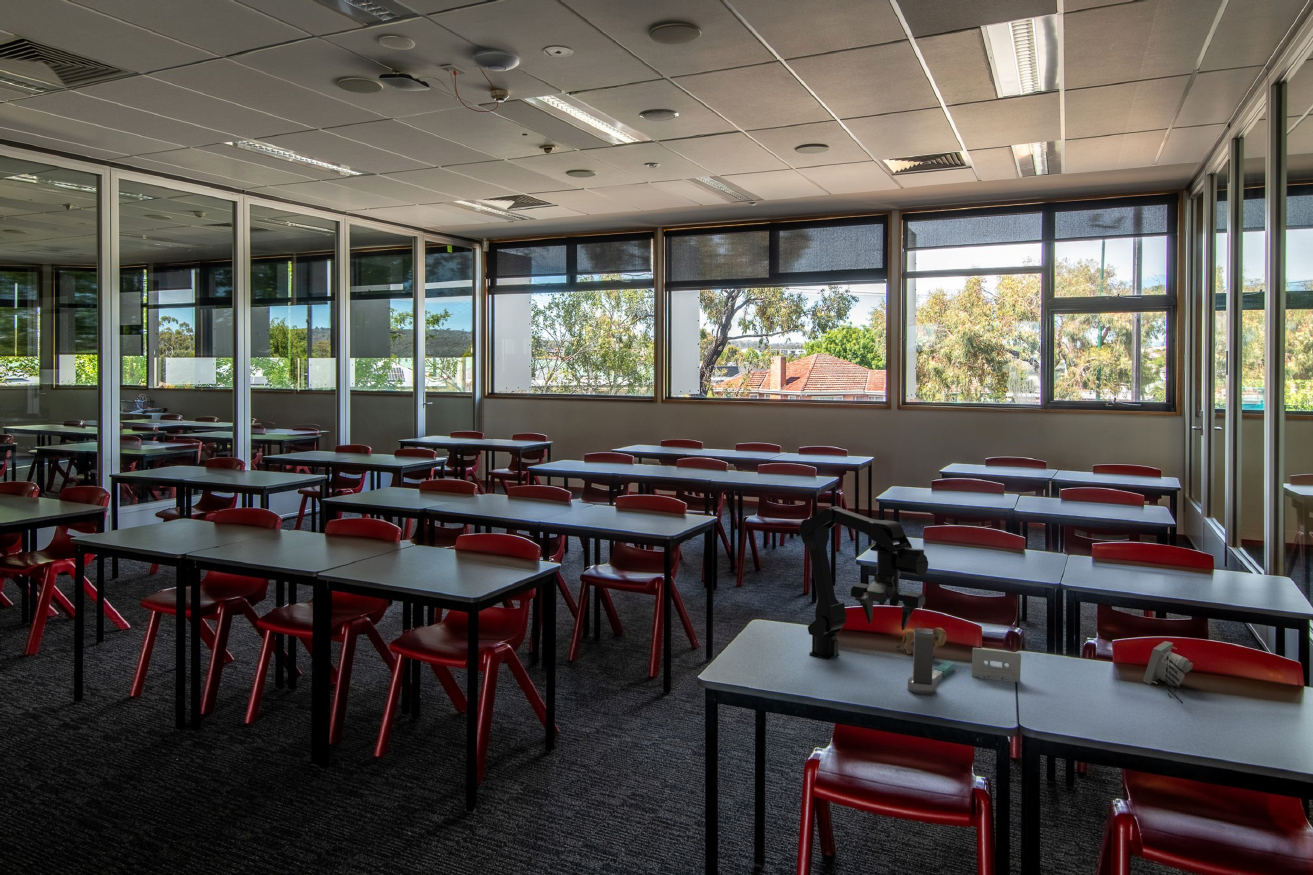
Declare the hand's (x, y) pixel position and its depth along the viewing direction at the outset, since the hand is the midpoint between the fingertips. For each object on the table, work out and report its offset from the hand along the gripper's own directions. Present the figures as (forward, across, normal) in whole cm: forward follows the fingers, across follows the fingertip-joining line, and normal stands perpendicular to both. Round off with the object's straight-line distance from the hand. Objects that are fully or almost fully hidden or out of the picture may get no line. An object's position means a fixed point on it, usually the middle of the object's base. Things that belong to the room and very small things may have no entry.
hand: (886, 626), depth 221 cm
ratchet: (+13, +12, +3) cm, 18 cm away
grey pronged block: (+13, +62, +35) cm, 72 cm away
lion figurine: (+13, +2, +22) cm, 26 cm away
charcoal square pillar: (+11, +12, -5) cm, 17 cm away
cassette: (+13, +24, +16) cm, 32 cm away
